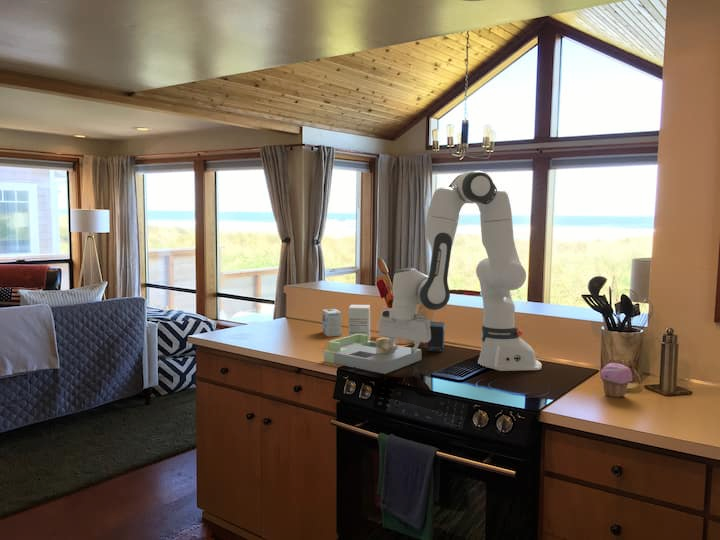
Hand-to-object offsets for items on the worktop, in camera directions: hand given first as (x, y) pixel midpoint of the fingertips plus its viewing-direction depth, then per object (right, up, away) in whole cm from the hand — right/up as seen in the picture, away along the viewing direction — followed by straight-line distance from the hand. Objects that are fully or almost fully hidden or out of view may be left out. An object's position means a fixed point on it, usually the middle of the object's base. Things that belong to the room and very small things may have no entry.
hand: (404, 351), depth 206 cm
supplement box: (-16, -2, +45) cm, 48 cm away
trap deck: (-11, -5, +9) cm, 15 cm away
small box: (+15, -3, +28) cm, 32 cm away
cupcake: (+62, -9, -32) cm, 70 cm away
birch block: (-6, -1, +5) cm, 8 cm away
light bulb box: (-29, 0, +57) cm, 64 cm away
